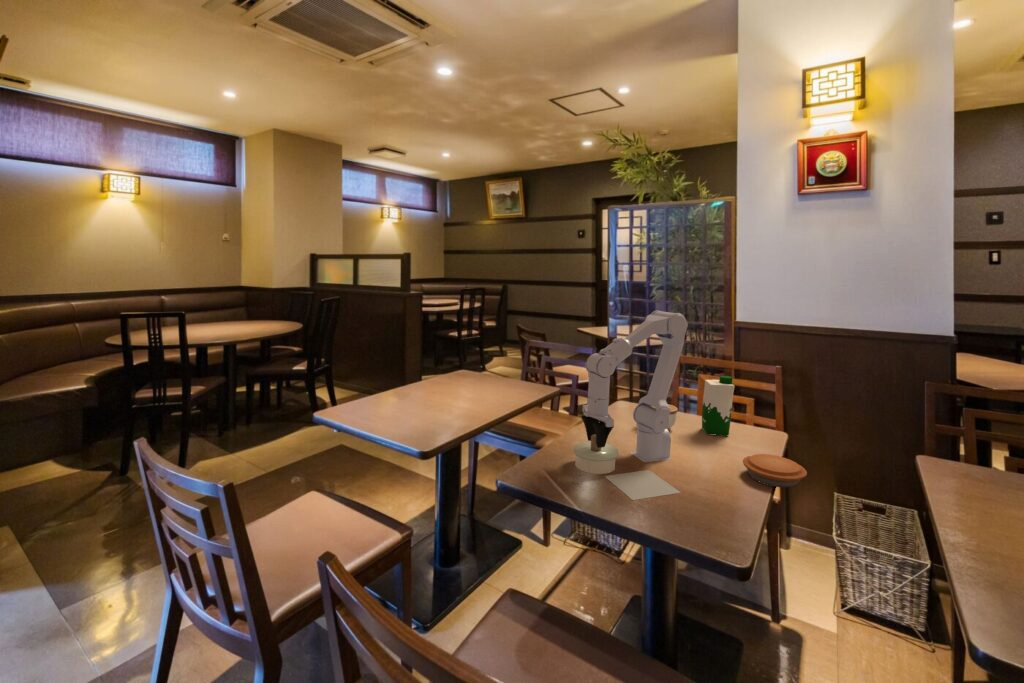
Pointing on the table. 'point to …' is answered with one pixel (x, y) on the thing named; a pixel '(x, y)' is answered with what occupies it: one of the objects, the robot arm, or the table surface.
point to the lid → (595, 451)
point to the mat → (641, 484)
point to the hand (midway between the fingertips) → (596, 443)
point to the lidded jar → (671, 415)
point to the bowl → (595, 465)
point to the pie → (774, 470)
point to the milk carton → (717, 405)
